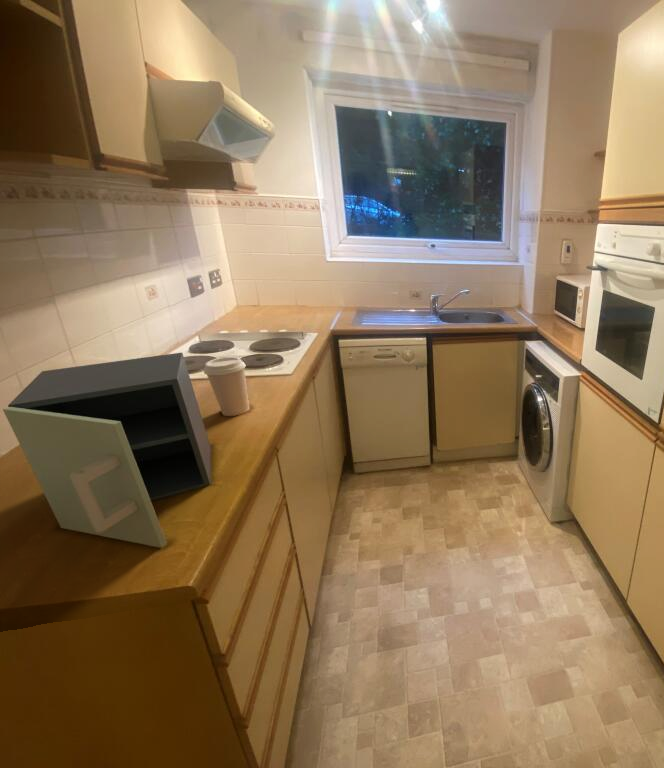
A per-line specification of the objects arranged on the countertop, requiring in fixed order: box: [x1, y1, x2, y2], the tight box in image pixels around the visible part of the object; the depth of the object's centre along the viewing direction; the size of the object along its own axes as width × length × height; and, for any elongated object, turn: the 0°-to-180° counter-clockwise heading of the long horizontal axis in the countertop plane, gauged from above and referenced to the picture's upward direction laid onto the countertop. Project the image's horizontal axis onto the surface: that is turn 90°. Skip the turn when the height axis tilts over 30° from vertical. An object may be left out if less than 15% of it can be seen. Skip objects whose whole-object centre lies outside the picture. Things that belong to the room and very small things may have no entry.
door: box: [2, 406, 168, 549], centre depth 68 cm, size 7×22×24 cm, turn 78°
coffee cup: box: [203, 356, 251, 417], centre depth 118 cm, size 10×10×15 cm
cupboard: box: [7, 352, 211, 501], centre depth 86 cm, size 18×22×24 cm
